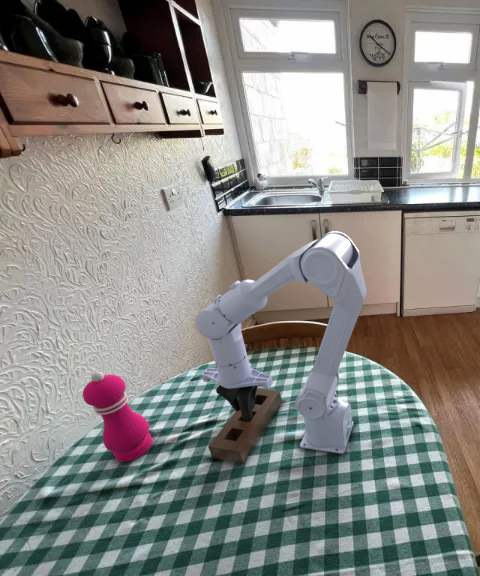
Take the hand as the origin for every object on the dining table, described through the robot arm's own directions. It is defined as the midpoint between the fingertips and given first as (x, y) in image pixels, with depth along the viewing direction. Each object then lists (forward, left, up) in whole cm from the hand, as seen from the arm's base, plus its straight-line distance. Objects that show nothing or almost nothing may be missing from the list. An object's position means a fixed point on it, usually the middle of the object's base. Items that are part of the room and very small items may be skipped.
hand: (245, 408), depth 67 cm
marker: (0, 0, -5) cm, 5 cm away
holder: (0, 0, -6) cm, 6 cm away
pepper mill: (+21, +9, -6) cm, 24 cm away
